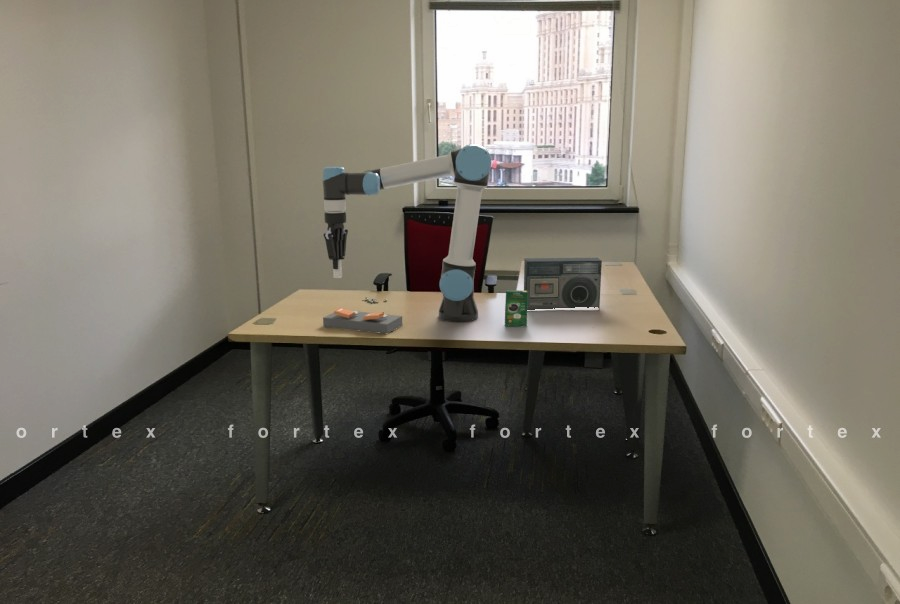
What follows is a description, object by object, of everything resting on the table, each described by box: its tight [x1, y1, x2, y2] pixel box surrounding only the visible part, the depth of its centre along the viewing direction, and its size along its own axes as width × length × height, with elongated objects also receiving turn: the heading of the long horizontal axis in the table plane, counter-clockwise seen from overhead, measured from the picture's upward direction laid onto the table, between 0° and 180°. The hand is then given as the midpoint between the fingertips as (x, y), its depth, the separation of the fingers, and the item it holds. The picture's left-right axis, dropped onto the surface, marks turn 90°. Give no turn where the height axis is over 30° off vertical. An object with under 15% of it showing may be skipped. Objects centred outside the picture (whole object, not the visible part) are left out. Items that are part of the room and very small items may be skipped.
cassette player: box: [523, 257, 603, 310], centre depth 265 cm, size 29×7×20 cm, turn 91°
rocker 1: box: [333, 307, 355, 318], centre depth 243 cm, size 6×4×1 cm
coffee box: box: [504, 289, 528, 327], centre depth 242 cm, size 8×3×13 cm, turn 89°
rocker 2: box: [363, 312, 385, 320], centre depth 239 cm, size 6×4×1 cm
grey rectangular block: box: [322, 310, 403, 334], centre depth 244 cm, size 26×12×4 cm, turn 68°
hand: (337, 277), depth 240 cm, fingers closed
